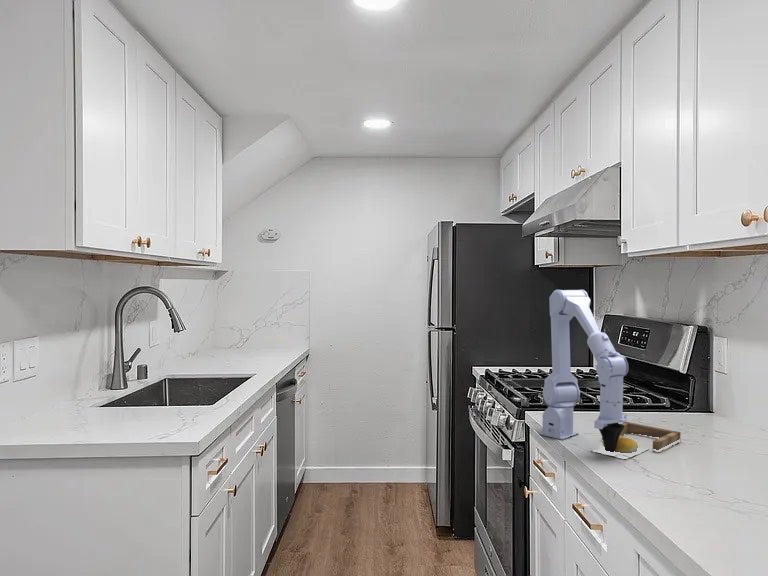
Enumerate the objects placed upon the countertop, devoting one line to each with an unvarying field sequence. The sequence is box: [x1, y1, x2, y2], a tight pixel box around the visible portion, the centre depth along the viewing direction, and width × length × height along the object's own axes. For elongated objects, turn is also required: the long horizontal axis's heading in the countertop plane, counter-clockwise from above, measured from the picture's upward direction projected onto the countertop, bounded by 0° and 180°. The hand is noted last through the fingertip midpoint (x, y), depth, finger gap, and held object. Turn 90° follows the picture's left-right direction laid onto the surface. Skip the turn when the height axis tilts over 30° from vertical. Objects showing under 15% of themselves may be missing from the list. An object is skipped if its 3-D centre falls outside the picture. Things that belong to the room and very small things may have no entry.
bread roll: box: [602, 435, 638, 453], centre depth 169 cm, size 8×9×4 cm
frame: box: [601, 421, 681, 450], centre depth 178 cm, size 15×16×3 cm
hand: (610, 450), depth 165 cm, fingers closed
